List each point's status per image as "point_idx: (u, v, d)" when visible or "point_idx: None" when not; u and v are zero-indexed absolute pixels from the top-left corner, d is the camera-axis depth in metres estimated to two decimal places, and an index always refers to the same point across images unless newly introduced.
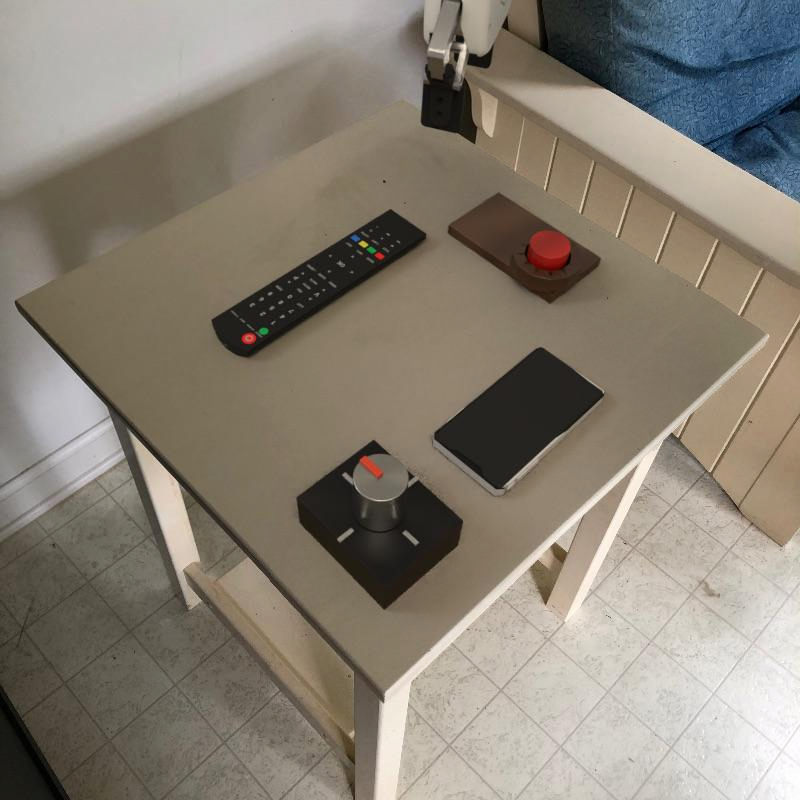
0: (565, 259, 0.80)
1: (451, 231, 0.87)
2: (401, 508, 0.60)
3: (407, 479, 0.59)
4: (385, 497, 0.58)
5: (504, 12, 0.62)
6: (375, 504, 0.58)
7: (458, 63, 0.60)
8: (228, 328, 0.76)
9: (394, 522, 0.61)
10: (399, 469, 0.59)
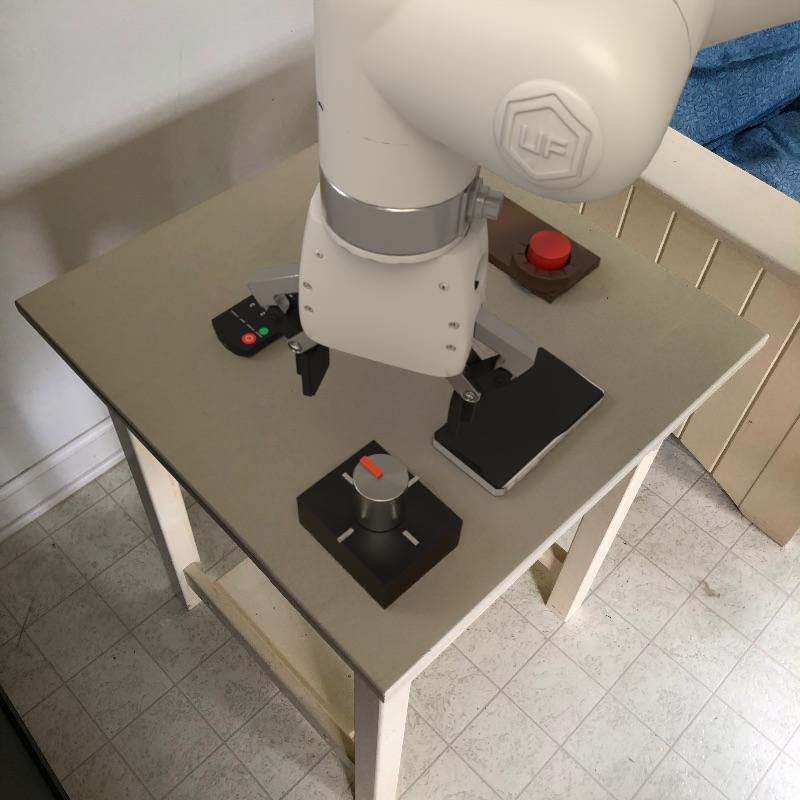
0: (565, 259, 0.80)
1: None
2: (401, 508, 0.60)
3: (407, 479, 0.59)
4: (385, 497, 0.58)
5: None
6: (375, 504, 0.58)
7: (477, 352, 0.49)
8: (228, 328, 0.76)
9: (394, 522, 0.61)
10: (399, 469, 0.59)
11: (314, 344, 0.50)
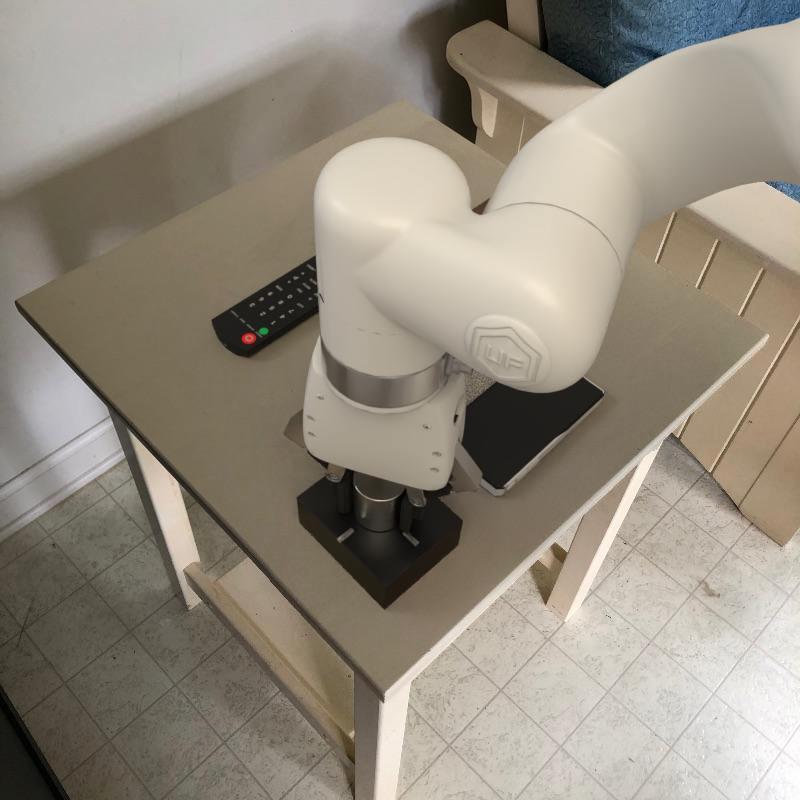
0: None
1: None
2: None
3: None
4: (385, 497, 0.58)
5: None
6: (375, 504, 0.58)
7: None
8: (228, 328, 0.76)
9: (394, 522, 0.61)
10: None
11: (343, 470, 0.57)
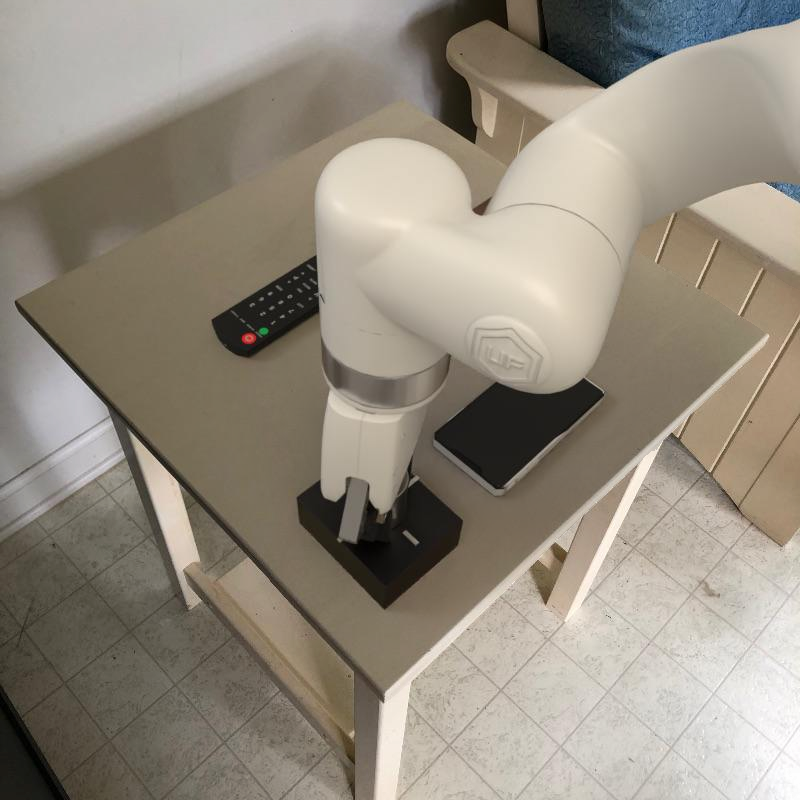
0: None
1: None
2: None
3: None
4: None
5: None
6: None
7: None
8: (228, 328, 0.76)
9: None
10: None
11: None
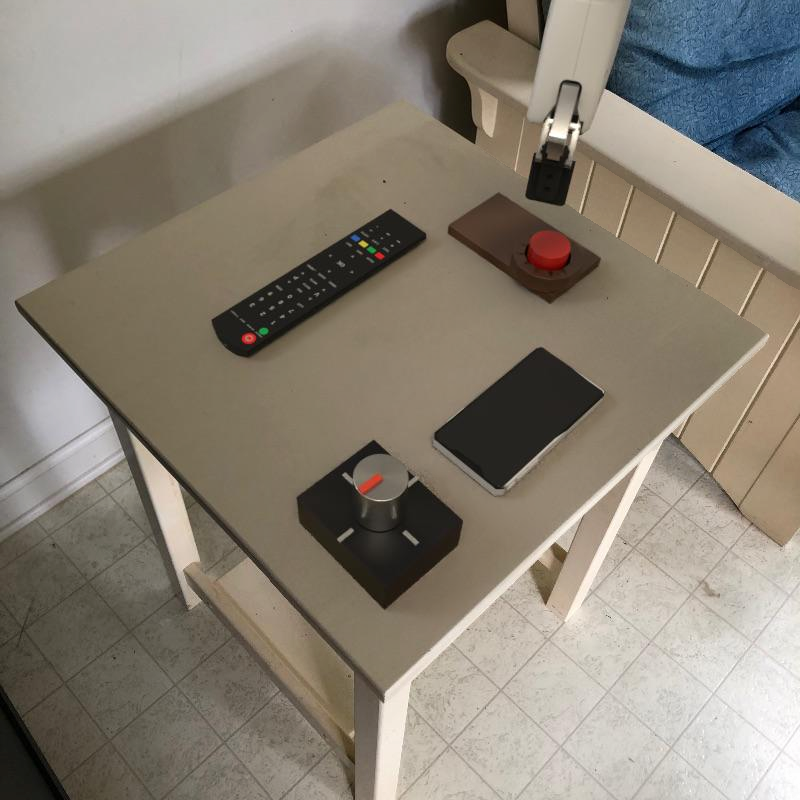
0: (565, 259, 0.80)
1: (451, 231, 0.87)
2: None
3: (383, 454, 0.60)
4: (404, 473, 0.59)
5: None
6: None
7: None
8: (228, 328, 0.76)
9: None
10: (372, 461, 0.60)
11: None
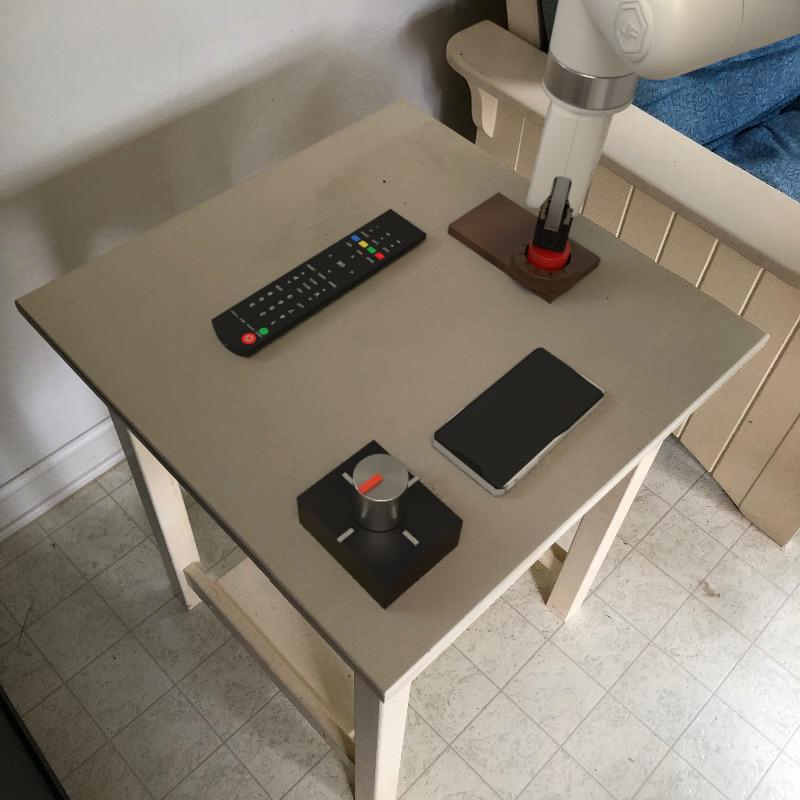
0: (565, 261, 0.81)
1: (451, 231, 0.87)
2: None
3: (383, 454, 0.60)
4: (404, 473, 0.59)
5: None
6: None
7: None
8: (228, 328, 0.76)
9: None
10: (372, 461, 0.60)
11: None
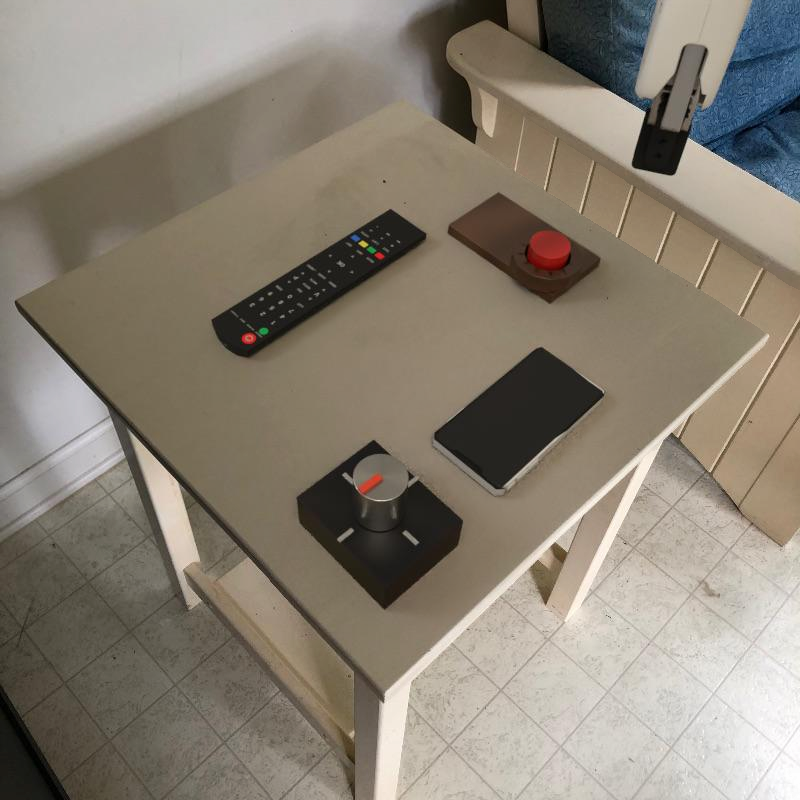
0: (565, 259, 0.80)
1: (451, 231, 0.87)
2: None
3: (383, 454, 0.60)
4: (404, 473, 0.59)
5: None
6: None
7: None
8: (228, 328, 0.76)
9: None
10: (372, 461, 0.60)
11: None
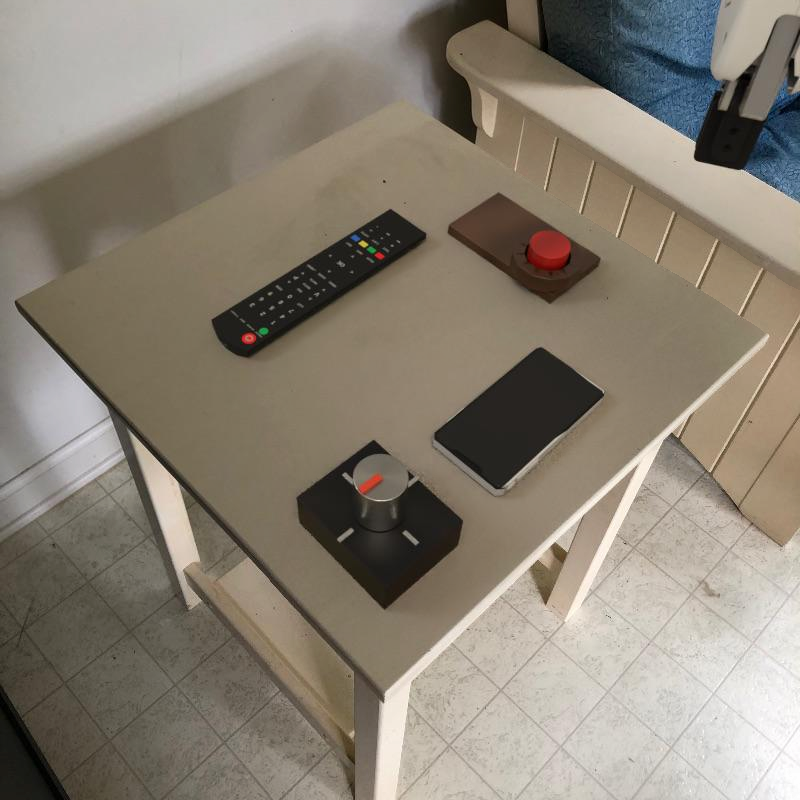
0: (565, 259, 0.80)
1: (451, 231, 0.87)
2: None
3: (383, 454, 0.60)
4: (404, 473, 0.59)
5: (719, 25, 0.46)
6: None
7: None
8: (228, 328, 0.76)
9: None
10: (372, 461, 0.60)
11: None
